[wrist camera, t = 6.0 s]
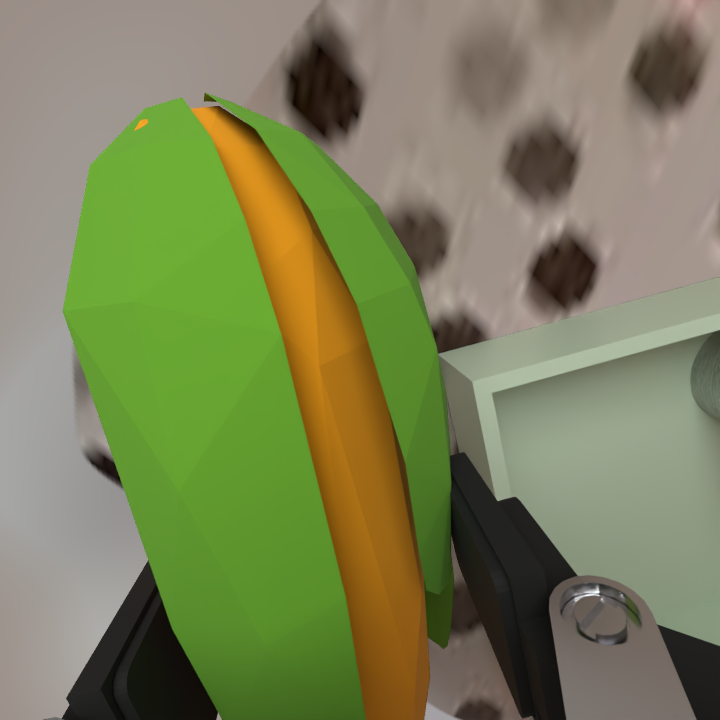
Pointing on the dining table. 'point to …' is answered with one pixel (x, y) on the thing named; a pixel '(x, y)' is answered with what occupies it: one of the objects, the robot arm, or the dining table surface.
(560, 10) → the dining table surface
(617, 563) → the crate
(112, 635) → the robot arm
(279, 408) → the corn
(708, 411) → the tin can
